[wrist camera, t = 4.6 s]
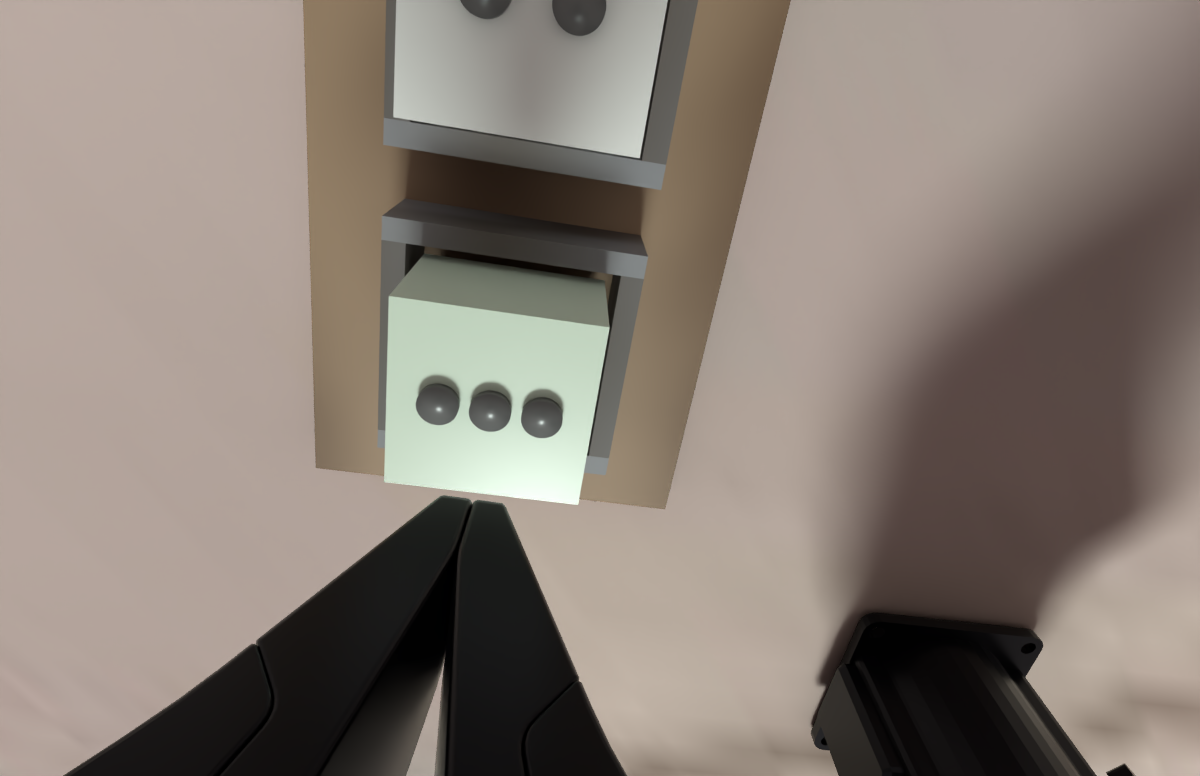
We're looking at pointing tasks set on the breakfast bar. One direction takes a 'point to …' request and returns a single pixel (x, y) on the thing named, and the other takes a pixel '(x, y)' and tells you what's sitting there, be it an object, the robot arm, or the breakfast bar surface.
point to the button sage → (493, 378)
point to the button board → (532, 224)
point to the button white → (531, 68)
